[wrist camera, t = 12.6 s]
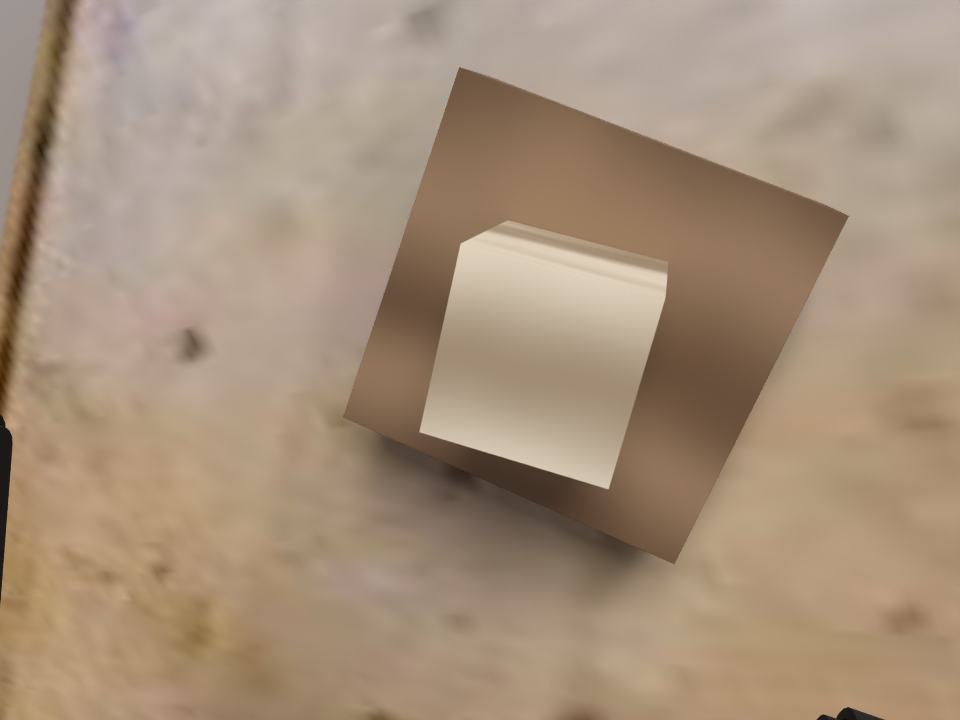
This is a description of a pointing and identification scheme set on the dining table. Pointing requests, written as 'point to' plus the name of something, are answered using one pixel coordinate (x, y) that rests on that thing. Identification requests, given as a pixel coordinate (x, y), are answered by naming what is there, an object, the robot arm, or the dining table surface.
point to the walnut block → (619, 224)
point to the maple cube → (544, 349)
